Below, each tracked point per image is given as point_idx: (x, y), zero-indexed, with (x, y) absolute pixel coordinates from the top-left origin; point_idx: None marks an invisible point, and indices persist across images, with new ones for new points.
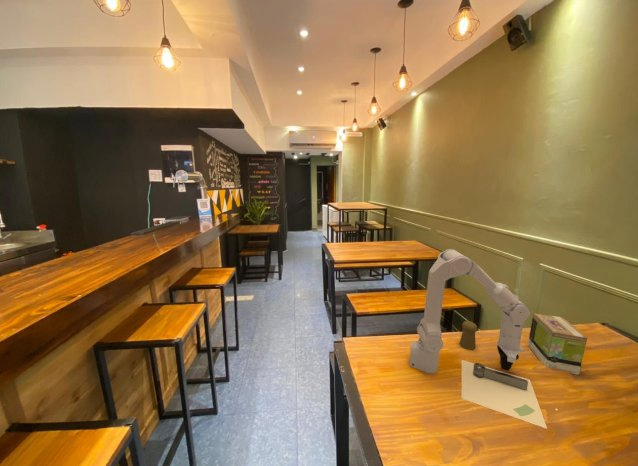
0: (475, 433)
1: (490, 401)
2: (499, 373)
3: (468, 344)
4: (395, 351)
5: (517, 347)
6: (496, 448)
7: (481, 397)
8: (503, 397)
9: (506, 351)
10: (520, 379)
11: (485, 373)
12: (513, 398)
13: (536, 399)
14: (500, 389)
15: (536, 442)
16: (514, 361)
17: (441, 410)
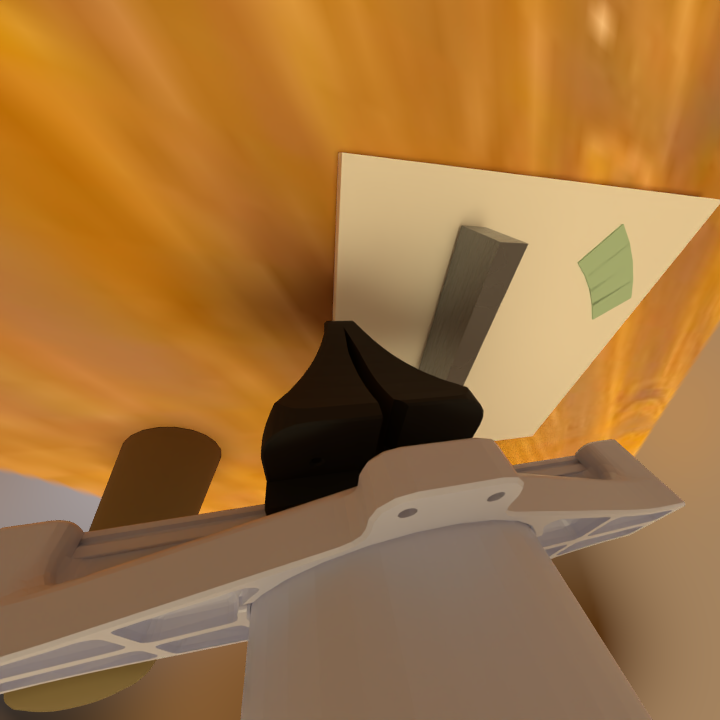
0: (621, 396)
1: (548, 380)
2: None
3: (201, 490)
4: None
5: (566, 591)
6: (671, 361)
7: (529, 400)
8: (531, 343)
9: (555, 555)
10: (494, 290)
11: None
12: (539, 308)
13: (553, 181)
14: (486, 351)
15: (709, 258)
16: (626, 461)
17: (550, 448)
